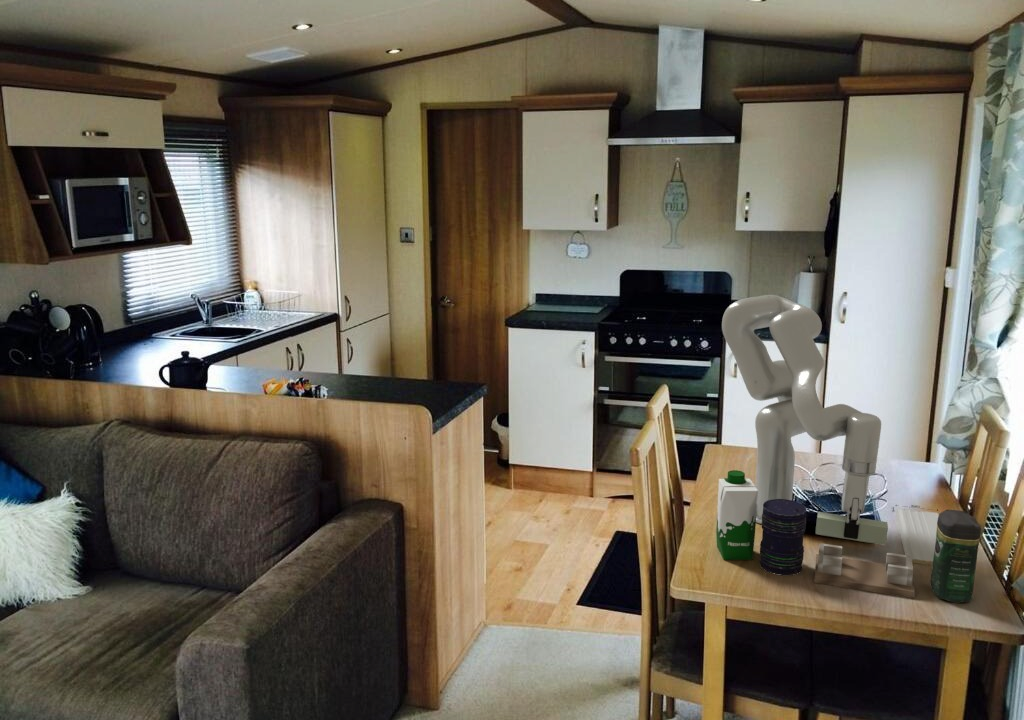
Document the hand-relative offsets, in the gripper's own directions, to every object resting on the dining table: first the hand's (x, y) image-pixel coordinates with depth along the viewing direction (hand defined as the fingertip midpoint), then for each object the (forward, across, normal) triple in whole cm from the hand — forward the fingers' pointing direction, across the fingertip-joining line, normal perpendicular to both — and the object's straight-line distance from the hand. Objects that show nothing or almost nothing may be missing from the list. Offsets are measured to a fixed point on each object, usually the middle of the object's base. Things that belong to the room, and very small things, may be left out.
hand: (850, 533), depth 210 cm
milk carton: (+5, +13, -26) cm, 29 cm away
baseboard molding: (+4, -12, +17) cm, 21 cm away
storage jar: (+4, +16, -15) cm, 22 cm away
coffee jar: (+3, +17, +21) cm, 27 cm away
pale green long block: (+1, 0, 0) cm, 1 cm away
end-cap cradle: (+3, +16, +3) cm, 16 cm away
